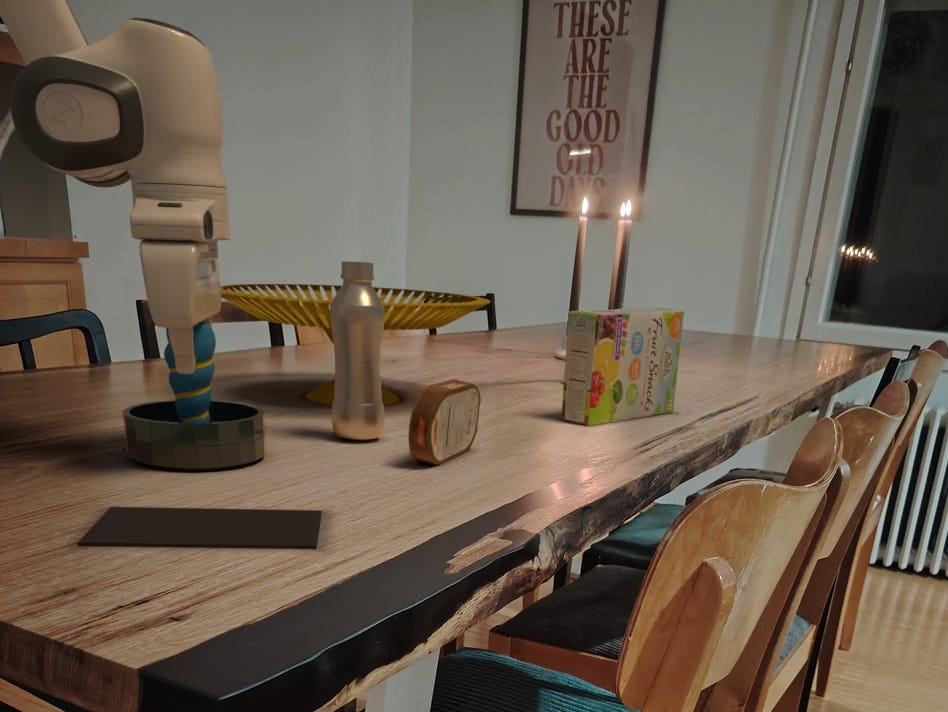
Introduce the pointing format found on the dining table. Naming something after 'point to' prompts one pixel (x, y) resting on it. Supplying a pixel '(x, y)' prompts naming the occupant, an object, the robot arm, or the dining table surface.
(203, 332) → the ornament
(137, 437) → the bowl
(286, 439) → the dining table surface
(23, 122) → the robot arm
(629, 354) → the snack box
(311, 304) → the cake stand
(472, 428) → the tin
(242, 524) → the mat
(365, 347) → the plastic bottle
